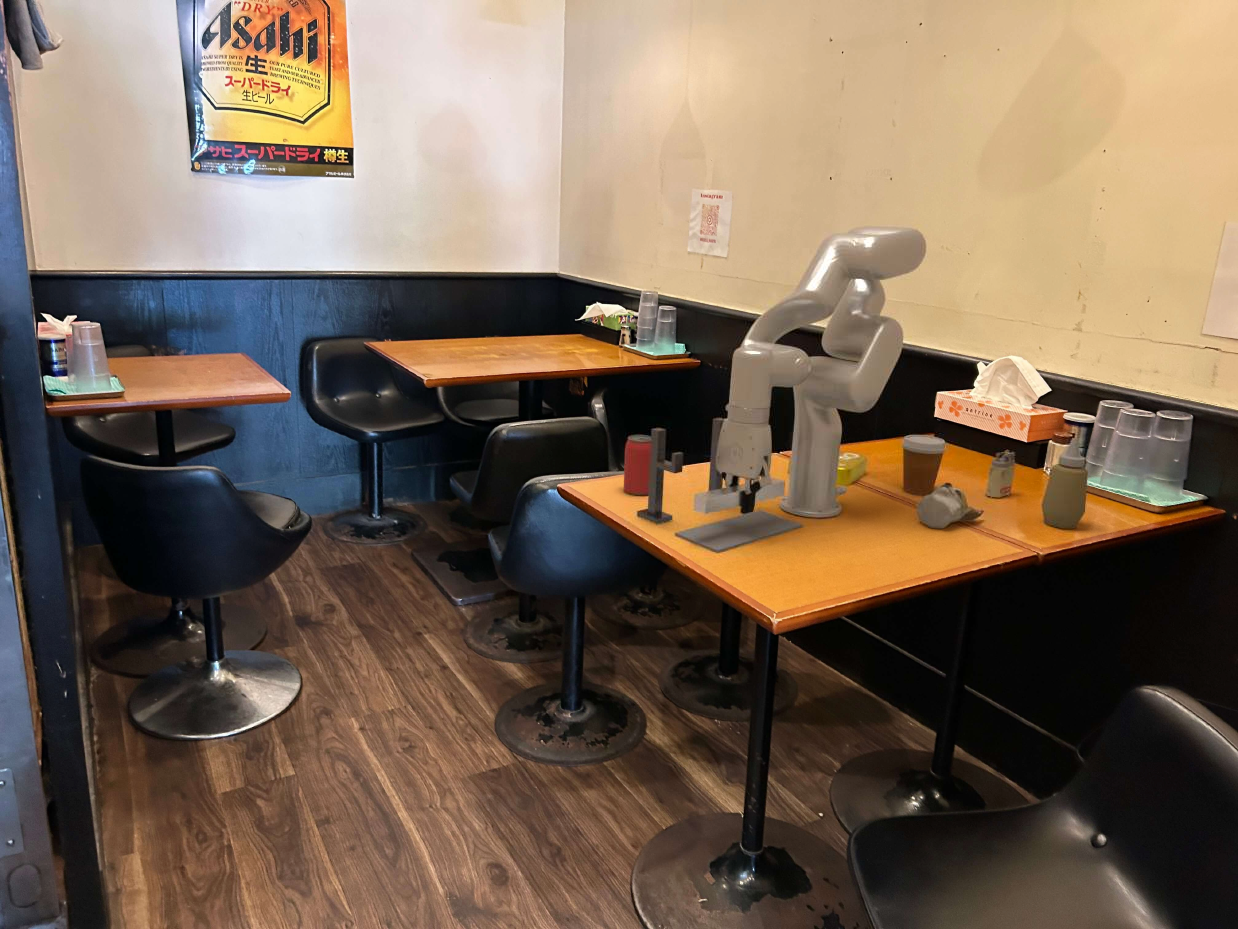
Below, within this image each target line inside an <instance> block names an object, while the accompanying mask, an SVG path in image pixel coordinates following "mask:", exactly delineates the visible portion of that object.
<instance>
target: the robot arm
mask: <svg viewBox="0 0 1238 929" xmlns="http://www.w3.org/2000/svg"><path fill="white" fill-rule="evenodd" d="M926 253H927V241H926V238H925V236H924V234H923V233H922V232H921V231H919V230H918V229H917V228H913V227H901V226H900V227H899V226H898V227H895V226H894V227H892V226H877V225H876V226H873V225H871V226H858V227H854V228H852V229H851V230H849V231H848V232H842V233H841V232H840V233H833V234H831V235H828V236H827V237H825V239H824V240H823V241H822V242H821V244H820V246H819V247H818V249H817V250H816V252H815V255H814V256H813V257H812V260H811V261H810V263H809V265H808V266H807V269H805V272H804V273H803V275H802V277H801V279H800V281H798V282H799V283H798V285H797V286H796V288H795V290H794V291H793V292H792V293H791V294H789V295H788V296H786V297H785V298H783V299H781V300H780V301H779V302H777V303H775V304H774V305H773V306H772V307H770V308H768V309H767V310H765V311H764V312H763V313H762V314H761V315H760V316H758V318H757V319H756V320H755V321H754V323H753V324H752V325H751V327H750V328H749V330H748V331H747V334H746V335H745V337H744V339H743V341H742V343H741V345H740V347H738V348H736V349H735V350H734V351H733V355H732V362H731V373H730V376H731V377H730V387H729V396H728V397H729V401H728V403H727V404H726V405H725V411H727V418H723V419H724V422H723V425H722V428H721V432H720V437H719V442H718V448H717V456H716V469H717V470H718V471H719V472H720V474H722V477H723V481H724V486H725V488H727V487H731V486H736V485H740V481H741V478H742V479H744V484H745V493H742V502H741V506H740V513H741V515H743V514H746V513H751V512H754V511H755V506H756V503H755V497H756V492H759V490H760V489H761V488H762V487H763V486H767V485H770V484H771V483H772V480H771V478H772V477H771V472H770V471H771V464H772V428H771V425H770V424H769V420H770V408H771V400H772V389H773V387H783V388H793V389H792V390H793V397H794V398H793V399H794V420H793V421H794V422H793V435H792V444H791V456H790V457H791V465H790V475H789V478H788V490H787V495H784V496H782V497H780V500H779V508H781V510H783V511H785V512H787V513H788V514H792V515H796V516H799V517H800V516H801V517H806V518H821V519H822V518H832V517H835V516H838V515H839V514H841V512H842V504H840V503H839V502H838V501H837V498H838V497H839V496H842V495H845V494H847V491H848V489H847V486H844V485H836V480H837V471H838V461H839V452H841V441H842V434H843V433H842V432H843V427H842V421H841V417H840V414H839V412H838V410H842V411H846V412H853V413H865V412H867V411H869V410H871V409H872V408H873V407H874V406H875V404H876V403H877V402H878V400H879V398H880V396H881V394H882V393H883V390H884V388H885V386H886V384H887V383H888V380H889V379H890V377H891V374H892V372H893V370H894V368H895V366H896V364H897V362H898V361H899V358H900V356H901V353H902V349H903V345H904V331H903V328H902V325H901V323H900V322H898V321H897V320H896V319H895V318H893V317H889V316H886V315H881V313H882V311H883V309H884V306H885V304H886V294H885V289H884V286H883V284H882V282H881V281H884V280H888V279H892V278H896V277H901V276H903V275H907V274H909V273H911V272H914V271H915V270H916V269H918V268H919V266H921V264H922V262H923V261H924V259H925V257H926ZM828 318H829V321H828V323H827V325H826V327H825V329H824V331H823V333H822V338H821V346H822V348H823V351H824V352H825V353H826V354H828V355H830V356H831V357H830V356H829V357H828V356H820V355H819V356H809V355H808V354H807V353H806V352H805V351H804V350H802V349H801V348H798V347H794V346H791V345H784V344H780V343H779V344H778V343H776V342H777V341H778V340H779V339H780V338H781V337H783V336H784V335H786V334H787V333H789V332H792V331H793V330H796V329H798V328H801V327H802V328H803V327H805V326H809V325H812V324H815V323H816V324H817V323H819V322H820V321H824V320H826V319H828ZM837 409H838V410H837ZM752 482H753V484H752Z"/></svg>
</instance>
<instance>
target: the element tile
mask: <svg viewBox="0 0 1238 929" xmlns="http://www.w3.org/2000/svg"><path fill="white" fill-rule="evenodd" d="M867 462H868V458H867V457H866V456H865V455H862V454H861V455H860V454H858V453H857V454H856V453H851V452H843V451H840V452H839V461H838V471H837V480H836V486H841V485H844V486H845V487H847V486H850V485H851V484H853V483H854V482H856V481H857V480H859V479H860V478H862V477H863V476H864V475H866V470H867ZM790 465H791V456H790V457H789V461H788V470H787V474H788V475H789V476H790Z"/></svg>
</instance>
